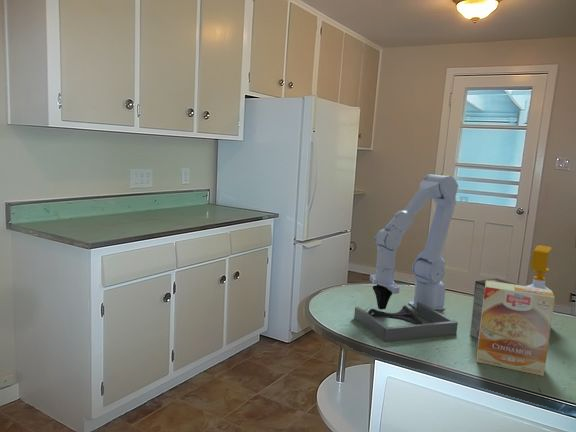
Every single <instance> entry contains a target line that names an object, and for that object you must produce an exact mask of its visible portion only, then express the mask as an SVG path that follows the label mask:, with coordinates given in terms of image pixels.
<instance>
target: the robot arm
mask: <svg viewBox="0 0 576 432" xmlns="http://www.w3.org/2000/svg"><path fill="white" fill-rule="evenodd" d="M458 189H459V184H458V183H457V180H456V179H455V178H454V176H453V175H440V174H432V173H430V174H427V175H426V176H425V177H423V180H422V181H420V183H419V188H418V189H417V192H415V194H414V195H413V197H411V200H410V201H409V202H408V204H407V205H406V206H405V208H404V209H402V210H398V211H397V212H395V213H394V214H393V217H392V219H391V220H390V221H389V222H388V223H387V224H386V225H385V226H384V228H382V229H380V230H379V231H378V232H377V233H376V234H375V236H374V237H373V240H374V243H375V244H376V250H377V251H376V264H375V274H370V275H369V281H370V282H371V283H372V284H373V286H372V290H373V293H374V295H375V297H376V298H375V299H376V304H377V308H378V309H379V311H382V310H386V309H387V306H388V304H389V301H390V299H391V297H392V295H395V294H400V287H399V286H398V285H397V283H396V282H395V281H394V279H395V278H394V277H395V267H396V257H397V256H396V255H397V249H398V248H399V247H400V246H401V243H402V239H403V237H404V234H405V233H406V232H407V231H408V229H409V228H410V227H411V225H412V224H413V223H414V216H416V214H417V213H418V212H419V211H420V210H421V208H423V207H424V205H426V203H427V202H428V201H429V200H433V201H434V202H435V204H436V207H435V210H434V213H433V218H432V221H431V225H430V228H429V232H428V236H427V239H426V241H425V242H426V243H425V247H424V250H422V251H421V252H419V253H418V254H417V256H416V259H415V260H414V262H413V263H412V265H411V270H412V271H411V272H412V274H413V275H414V279H415V284H414V296H413V301H408V302H407V304H408V305H410V306H412V307H414V308H415V309H416V306H417V302H421V303H423V304H425V305H426V306H428V307H430V308H432V309H434V310H436V311H438V310H440V311H441V310H446V307H445V300H446V286H445V284H444V282H443V279H444V276H445V275H446V274H445V272H446V271H445V265H446V261H445V259H444V258H443V256H442V252H443V249H444V246H445V242H446V238H447V235H448V232H449V228H450V224H451V222H452V217H453V214H454V211H455V207H456V203H457V201H456V198H457V197H456V195H457V194H458V193H457V192H458Z"/></svg>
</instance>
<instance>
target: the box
mask: <svg viewBox="0 0 576 432" xmlns="http://www.w3.org/2000/svg"><path fill="white" fill-rule="evenodd" d="M415 309H416V310H415V313H416V314H417V315H418V316H420V317H422V318H424V319H426V320H427V321H429V323H423V324H417V325H416V324H410V325H409V324H407V325H398V326H397V325H396V326H387V325H386V324H384V323H383V322H381V321H379V320H378V319H377V318H376V317H373V315H372V314H371V315H370V314H368V312H367V311H365V310H364V309H362V308H361V307H360V306H355V307H354V315H353V316H354V319H355V320H356V321H357V322H359V323H360V324H361V325H363V326H364V327H365V328H367V329H368V330H369V331H371V332H372V333H373V334H375V336H377V337H379V339H381V340H382V341H384V342H385V343H386V342H394V341H404V340H412V339H413V340H414V339H424V338H432V337H440V336H441V337H442V336H450V335H451V336H452V335H457V334H458V333H457V332H458V324H459V323H458V321H456V320H454V319H452V318H450V317H448V316H447V315H445V314H443V313H441V312H439V311H438V310H434V309H432V308H430V307H428V306H426V305H425V304H423V303H421V302H417V306H416V308H415Z"/></svg>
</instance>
